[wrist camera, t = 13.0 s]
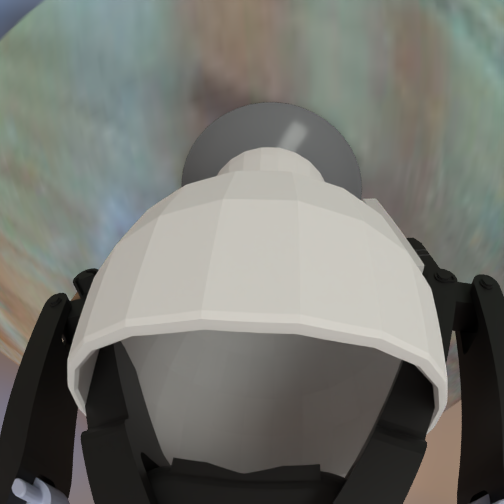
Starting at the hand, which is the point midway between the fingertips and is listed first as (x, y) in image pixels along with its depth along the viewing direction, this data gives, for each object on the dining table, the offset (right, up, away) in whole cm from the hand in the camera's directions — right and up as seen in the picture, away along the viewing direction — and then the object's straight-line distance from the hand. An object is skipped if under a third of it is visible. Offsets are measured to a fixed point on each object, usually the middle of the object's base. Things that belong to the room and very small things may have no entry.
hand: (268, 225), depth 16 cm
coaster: (0, +3, +5) cm, 6 cm away
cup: (0, +2, +3) cm, 3 cm away
